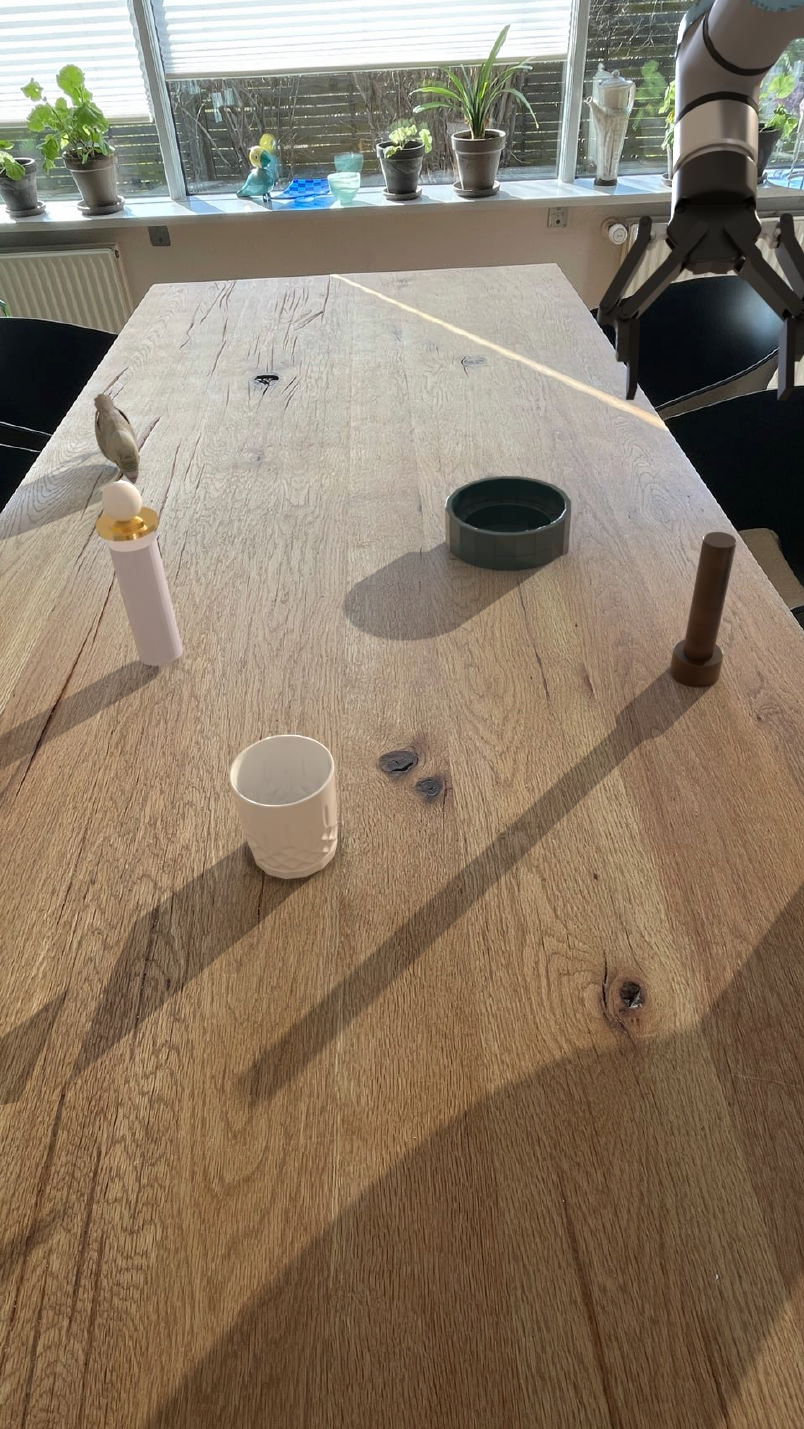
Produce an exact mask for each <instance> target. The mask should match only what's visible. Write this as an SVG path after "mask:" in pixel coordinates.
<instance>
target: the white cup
mask: <svg viewBox="0 0 804 1429" xmlns="http://www.w3.org/2000/svg"><path fill="white" fill-rule="evenodd" d="M335 772H336V771H335V761H334V758H333V756H332V753H331V752H330V750H329V749H328V748H327V747H326V746H325V745H324V744H322V743H321V742H319V741H317V740H316V739H313V738H311V737H308V736H304V735H298V734H282V735H281V734H280V735H274V736H269V737H267V738H263V739H261V740H258V741H255V742H254V743H252V744H250V745H249V746H247V747H246V748H244V749H243V750H242V751H241V752H240V753H238V755H237V756H235V758H234V760H233V762H232V763H231V765H230V768H229V772H228V782H229V787H230V789H231V793H232V797H233V799H234V803H235V806H236V810H237V813H238V816H239V819H240V823H241V826H242V830H243V833H244V836H245V839H246V842H247V846H248V848H249V849H250V851H251V853H252V856H253V858H254V862H255V865H256V866H257V867H259V869H261V870H262V871H263V872H265V873H266V874H267V875H269V876H272V877H276V878H279V879H284V880H290V879H300V878H307V877H309V876H311V875H313V874H316V873H317V872H320V871H321V870H323V869H324V868H325V867H326V866H327V865H328V863H330V861H332V859H333V858H334V857H335V854H336V850H337V846H338V832H339V831H338V830H339V829H338V828H339V826H338V823H339V822H338V803H337V789H336V788H337V787H336V773H335Z"/></svg>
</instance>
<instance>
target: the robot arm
mask: <svg viewBox="0 0 804 1429" xmlns="http://www.w3.org/2000/svg"><path fill="white" fill-rule="evenodd" d="M798 39H804V0H700V1H699V2H697V3H696V4H693V5H691V6H690V7H689V9H688V10H687V11H686V12H685V14H684V15H683V17H682V20H681V22H680V24H679V28H678V35H677V45H676V48H675V52H674V59H675V61H674V73H675V86H674V88H675V89H674V90H675V91H674V93H675V94H674V96H675V97H674V100H675V101H674V130H673V131H674V132H673V134H674V137H673V139H674V140H673V160H672V175H673V178H672V183H671V205H670V206H671V210H670V211H671V212H670V220H669V222H668V223H659V222H653V219H652V217H650V215H643V216H641V217H640V218H639V220H638V225H637V229H636V234H635V239H634V241H633V243H632V245H631V247H630V249H629V251H628V253H627V254H626V255H625V258H624V260H623V261H622V263H621V265H620V266H619V269H618V270H617V272H616V274H615V275H614V277H613V279H612V281H611V283H610V284H609V286H608V287H607V290H606V291H605V293H604V295H603V296H602V298H601V300H600V302H599V305H598V310H597V315H596V321H597V323H598V324H599V325H601V326H606V325H609V326H612V327H613V328H614V331H615V351H614V355H615V356H614V357H615V360H616V362H617V363H626V379H625V380H626V382H625V401H635V398H636V394H637V391H638V384H639V358H640V356H639V355H640V327H641V326H640V325H641V318H640V316H641V315H642V314H643V313H644V312H646V310H647V309H648V308H649V307H650V306H651V305H652V303H654V302H655V301H656V299H658V297H659V296H660V295H661V294H662V293H663V292H664V291H665V290H666V289H667V288H668V287H669V286H670V285H671V283H672V282H675V281H676V280H677V279H678V278H679V277H680V276H681V275H682V273H683V272H684V271H685V270H687V271H689V272H690V273H692V274H691V275H693V276H696V275H698V276H700V275H705V274H709V273H711V274H714V275H728V272H731V271H733V272H734V273H735V275H736V276H737V277H738V278H739V279H740V280H741V281H745V282H746V283H748V285H749V286H750V287H751V288H752V289H753V290H754V291H755V292H756V293H757V295H758V296H759V297H760V298H761V300H763V301H764V303H766V305H767V306H768V307H769V308H770V310H772V311H773V312H774V314H775V315H776V316H777V317H778V318H779V319H780V321H782V322H783V324H782V326H781V328H780V330H779V331H778V355H777V356H778V357H777V358H778V359H777V360H778V361H777V399H776V400H777V401H778V402H779V401H784V402H785V401H787V399H789V397H790V395H791V394H792V392H793V391H794V389H795V383H796V382H795V381H796V380H795V378H796V363H800V362H801V361H802V359H803V358H804V250H803V248H802V246H801V244H800V242H799V240H798V238H797V236H796V231H795V221H794V216H793V215H792V214H791V213H789V212H785V213H782V214H781V215H780V216H779V219H778V220H777V219H776V220H770V221H761V220H760V218H759V216H758V213H757V207H758V206H757V205H758V204H757V203H758V202H757V200H758V167H757V166H758V163H759V162H758V161H759V160H758V159H759V119H760V116H759V115H760V114H759V112H760V94H761V92H760V91H761V85H762V83H763V81H764V79H765V77H766V76H767V74H768V73H769V71H770V70H771V69H772V68H773V67H774V66H775V65H776V63H777V62H778V61H779V60H780V58H781V57H782V55H783V54H784V52H786V50H787V48H788V47H789V46H790V44H791V43H792V42H793V41H795V40H798ZM759 239H762V240H764V241H765V242H766V244H767V245H766V246H767V247H768V249H770V250H773V251H774V255H775V258H776V261H777V262H778V265H779V267H780V268H781V270H782V272H783V274H784V276H785V279H786V281H787V282H788V284H787V282H786V281H785V280H784V279H783V278H782V277H781V276H780V275H779V273H778V272H777V271H776V270H775V269H774V268H773V267H772V266H771V264H770V263H769V262H767V260H766V259H765V258H764V257H763V253H762V252H763V251H762V250H761V249H760V248H759V247H758V246H757V242H758V240H759ZM661 241H664V242H665V243H666V245H667V247H668V248H669V249H670V252H669V254H668V256H667V257H666V259H665V260H664V261H663V262H662V263H661V264H660V265H659V266H658V268H656V270H654V272H653V273H651V275H650V276H649V277H648V278H647V279H646V280H645V281H644V282H643V284H641V286H640V287H639V288H638V289H637V290H636V291H635V292H634V293H633V294H632V295H631V296H630V297H629V298H628V299H627V301H626V302H625V303H623V305H622V306H620V303H621V301H622V300H623V298H624V296H625V294H626V292H627V291H628V289H629V287H630V285H631V284H632V283H633V280H634V278H635V277H636V275H637V273H638V271H639V269H640V268H641V266H642V265H643V262H644V260H645V258H646V256H647V251H648V252H650V251H652V250H654V249H655V248H656V247H657V245H658V243H659V242H661Z"/></svg>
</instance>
